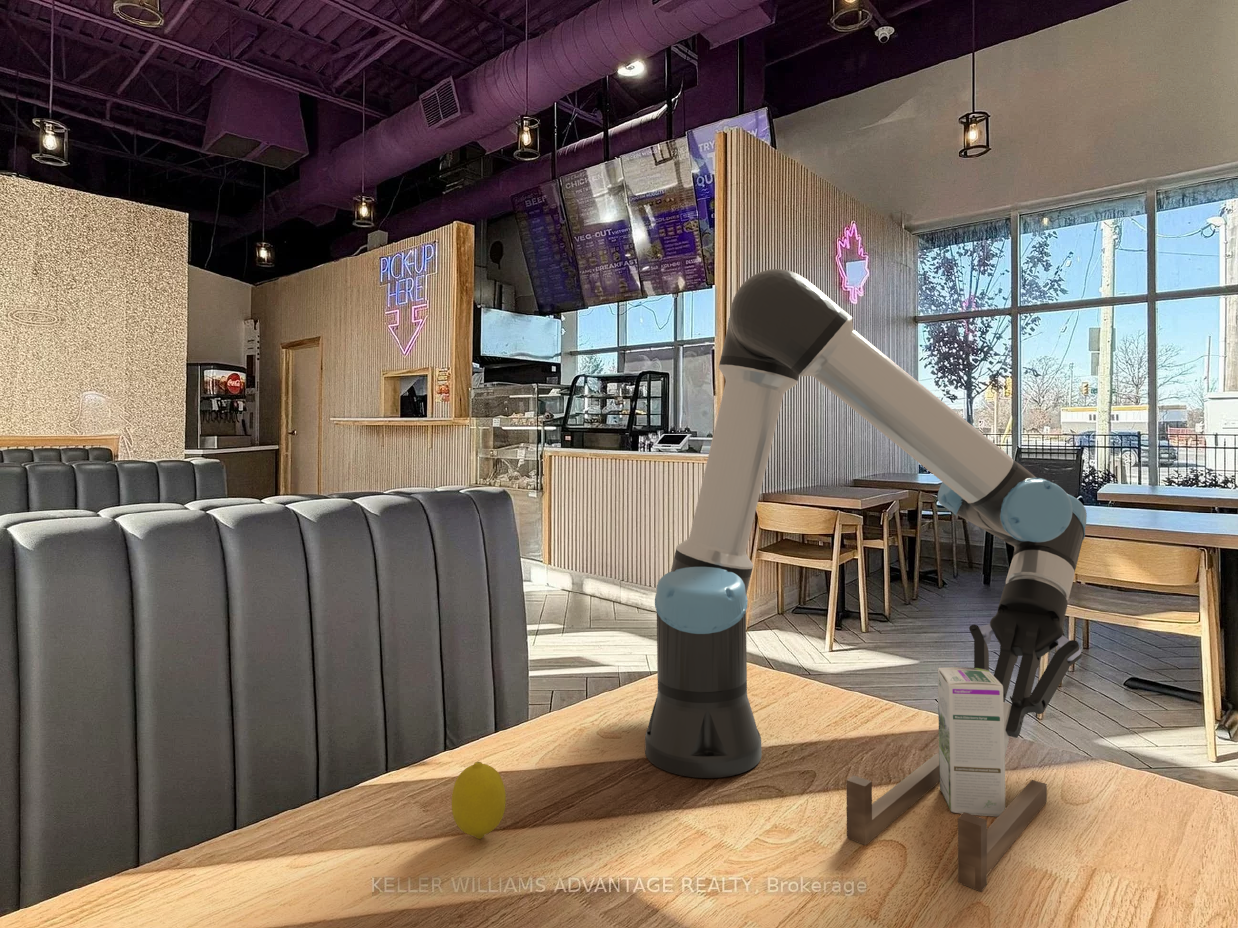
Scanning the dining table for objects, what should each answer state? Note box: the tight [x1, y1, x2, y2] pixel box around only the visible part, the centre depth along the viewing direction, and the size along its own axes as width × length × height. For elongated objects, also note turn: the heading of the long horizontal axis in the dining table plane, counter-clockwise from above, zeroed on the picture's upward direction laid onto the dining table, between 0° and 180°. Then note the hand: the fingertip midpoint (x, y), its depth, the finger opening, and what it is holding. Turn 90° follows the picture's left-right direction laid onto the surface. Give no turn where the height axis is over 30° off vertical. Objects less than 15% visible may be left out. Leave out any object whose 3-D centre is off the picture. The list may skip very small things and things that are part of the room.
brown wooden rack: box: [845, 752, 1048, 893], centre depth 78 cm, size 13×22×6 cm, turn 135°
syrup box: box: [937, 666, 1006, 817], centre depth 81 cm, size 6×6×14 cm
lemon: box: [451, 761, 507, 840], centre depth 76 cm, size 6×6×8 cm
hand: (993, 756), depth 86 cm, fingers closed
